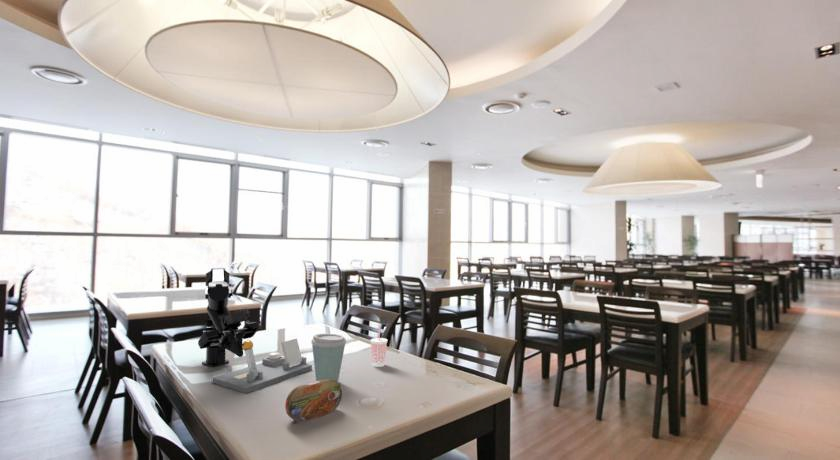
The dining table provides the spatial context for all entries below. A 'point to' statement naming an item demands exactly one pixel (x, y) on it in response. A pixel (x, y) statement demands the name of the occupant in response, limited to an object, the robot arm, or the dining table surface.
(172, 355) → the dining table surface
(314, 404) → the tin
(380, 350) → the beverage cup
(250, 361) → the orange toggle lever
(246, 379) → the switch panel
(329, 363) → the disposable coffee cup
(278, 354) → the cream push button
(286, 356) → the grey paddle
